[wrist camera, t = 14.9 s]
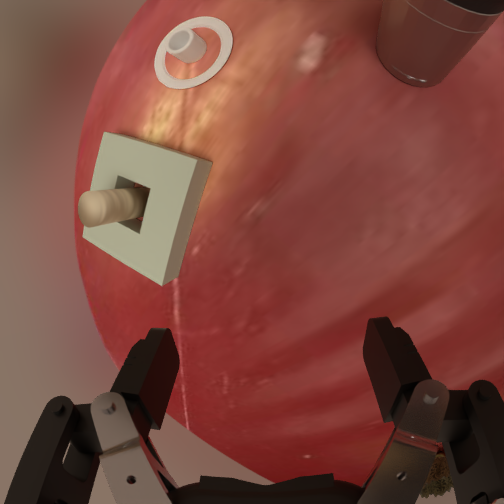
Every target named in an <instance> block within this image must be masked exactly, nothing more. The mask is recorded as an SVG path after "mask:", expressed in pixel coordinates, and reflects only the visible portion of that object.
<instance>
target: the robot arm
mask: <svg viewBox="0 0 504 504" xmlns="http://www.w3.org/2000/svg"><path fill="white" fill-rule="evenodd" d="M503 11H504V0H383V4H382V11H381V17H380V23H379V28H378V34H377V40H376V49H377V54H378V56H379V58H380V61H381V62H382V64H383V65H384V66H385V68H386V69H387V70H388V71H389V72H390V73H391V74H392V75H394V76H395V77H396V78H398V79H399V80H401V81H403V82H405V83H407V84H410V85H413V86H418V87H430V86H434V85H436V84H438V83H440V82H441V81H442V80H443V79H444V78H445V77H446V76H447V75H448V73H449V72H450V71H451V70H452V69H453V68H454V67H455V66H456V65H457V64H458V63H459V62H460V60H461V59H462V58H463V57H464V56H465V55H466V54H467V53H468V51H469V50H470V49H471V48H472V47H473V46H474V45H475V44H476V42H477V41H478V40H479V39H480V38H481V37H482V36H483V34H484V33H485V32H486V31H487V30H488V29H489V27H490V26H491V25H492V24H493V23H494V21H495V20H496V19H497V18H498V17H499V16H500V14H501V13H502V12H503ZM127 357H128V358H126V360H125V362H124V365H123V366H122V368H121V370H120V372H119V374H118V376H117V378H116V380H115V382H114V384H113V386H112V388H111V390H110V392H106V393H103V394H100V395H99V396H97V397H96V398H95V399H94V401H93V402H92V403H91V404H80V405H74V404H73V402H72V401H71V400H70V399H69V398H68V397H66V396H57V397H55V398H53V399H51V400H50V401H49V402H48V403H47V405H46V407H45V409H44V410H43V412H42V414H41V416H40V418H39V420H38V423H37V425H36V427H35V429H34V431H33V433H32V435H31V437H30V440H29V442H28V444H27V446H26V449H25V451H24V453H23V455H22V458H21V460H20V462H19V465H18V467H17V470H16V472H15V475H14V478H13V480H12V483H11V485H10V488H9V491H8V494H7V497H6V500H5V503H4V504H88V503H89V499H90V495H91V492H92V488H93V484H94V481H95V477H96V474H97V470H98V467H99V464H100V462H101V465H102V468H103V470H104V473H105V476H106V479H107V481H108V484H109V486H110V489H111V491H112V493H113V496H114V498H115V501H116V503H117V504H415V502H416V500H417V498H418V496H419V494H420V492H421V490H422V488H423V486H424V483H425V481H426V479H427V476H428V474H429V472H430V469H431V467H432V464H433V462H434V459H435V456H436V454H437V450H438V446H437V445H436V442H442V445H443V448H444V451H445V455H446V459H447V462H448V466H449V470H450V474H451V478H452V482H453V486H454V491H455V495H456V500H457V504H504V402H503V400H502V398H501V396H500V394H499V392H498V390H497V388H496V387H495V386H494V385H493V384H492V383H491V382H489V381H486V380H478V381H475V382H474V383H472V384H471V386H470V388H469V389H468V390H448V389H447V387H446V386H445V385H444V384H443V383H441V382H439V381H437V380H433V379H432V378H431V376H430V374H429V372H428V370H427V368H426V366H425V364H424V362H423V360H422V358H421V356H420V355H419V353H418V352H417V349H416V347H415V345H413V342H412V340H411V338H410V336H409V334H407V333H406V332H405V331H404V330H403V329H401V328H400V327H396V328H394V327H393V325H392V323H391V321H390V319H389V318H388V317H378V318H370V319H369V320H368V324H367V330H366V335H365V340H364V345H363V358H364V362H365V365H366V368H367V371H368V374H369V377H370V380H371V383H372V386H373V389H374V392H375V395H376V398H377V402H378V405H379V408H380V411H381V415H382V418H383V421H384V423H386V422H390V421H393V422H394V425H395V428H394V429H393V431H392V433H391V435H390V437H389V439H388V441H387V443H386V445H385V447H384V449H383V451H382V453H381V455H380V456H379V458H378V460H377V462H376V464H375V465H374V467H373V469H372V470H371V472H370V473H369V475H368V476H367V478H366V480H365V481H364V483H363V484H362V486H361V487H360V486H358V485H355V484H353V483H349V482H346V481H340V480H334V477H333V473H330V474H322V475H314V476H303V477H298V478H294V479H291V480H287V481H283V482H280V483H276V484H272V485H260V484H255V483H251V482H246V481H243V480H238V479H235V478H225V477H211V476H200V482H198V483H193V484H188V485H185V486H182V487H180V488H179V487H178V485H177V484H176V482H175V481H174V479H173V478H172V477H171V475H170V474H169V472H168V471H167V469H166V467H165V466H164V464H163V462H162V460H161V458H160V456H159V455H158V453H157V451H156V449H155V447H154V445H153V443H152V441H151V439H150V437H149V436H148V435H149V431H150V429H157V430H160V429H161V425H162V422H163V419H164V415H165V412H166V409H167V405H168V402H169V399H170V396H171V392H172V389H173V386H174V383H175V379H176V376H177V373H178V370H179V364H180V360H179V354H178V351H177V348H176V345H175V342H174V339H173V336H172V333H171V330H170V329H169V328H151V329H150V330H149V332H148V334H147V336H146V338H145V340H143V339H140V340H139V341H138V342H137V343H136V344H135V345H134V346H133V347H132V348H131V350H130V352H129V354H128V356H127ZM69 443H70V447H69V449H68V452H67V455H66V458H65V460H64V463H63V462H62V461H63V457H64V455H65V452H66V449H67V447H68V444H69Z"/></svg>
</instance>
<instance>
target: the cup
mask: <svg viewBox="0 0 504 504" xmlns="http://www.w3.org/2000/svg"><path fill="white" fill-rule="evenodd" d="M451 487H453V488H454V486H453V482H452V478H451V474H450V470H449V466H448V462H447V459H446V455H445V453H444V452H437V454H436V456H435V459H434V462H433V464H432V467H431V469H430V472H429V474H428V476H427V479H426V481H425V483H424V486H423V488H422V490H421V492H420V495H421V497H422V498H423V497H425V498H428V497H429V494H431V495H432V494H434V496H435V497H436V496H437V495H440V496H442V495H444V493H445V492H446V491H448V492H450V490H451Z"/></svg>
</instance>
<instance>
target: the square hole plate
mask: <svg viewBox="0 0 504 504" xmlns="http://www.w3.org/2000/svg"><path fill="white" fill-rule="evenodd" d="M212 163H213V162H211V161H208V160H205V159H202V158H199V157H196V156H193V155H190V154H187V153H184V152H181V151H178V150H174V149H171V148H168V147H165V146H162V145H158V144H155V143H152V142H148V141H145V140H141V139H138V138H135V137H131V136H127V135H124V134H118V133H111V132H104V134H103V138H102V141H101V145H100V149H99V153H98V157H97V161H96V165H95V169H94V174H93V179H92V183H91V188H90V191H97V190H109V189H123V188H134V184H135V182H136V183H139V184H141V185H143V186H146V187H148V188H151V190H150V193H149V197H148V201H147V205H146V209H145V213H144V217H143V222H142V221H140V220H138V219H136V218H134V219H129V220H124V221H119V222H114V223H110V224H105V225H100V226H96V227H91V228H88V227H86V226H85V225H84V231H83V238H85V239H86V240H88V241H90V242H91V243H93V244H94V245H96V246H97V247H99V248H100V249H102V250H103V251H105V252H107V253H108V254H110V255H111V256H113V257H115V258H116V259H118V260H119V261H121V262H123V263H124V264H126V265H127V266H129V267H131V268H132V269H134V270H136V271H137V272H139V273H141V274H142V275H144V276H146V277H148V278H149V279H151V280H153V281H154V282H156V283H158V284H160V285H161V286H162V285H164V284H166V283H168V282H170V281H171V280H173V279H175V278H177V277H178V275H179V272H180V268H181V264H182V261H183V257H184V254H185V250H186V246H187V243H188V240H189V236H190V233H191V229H192V226H193V223H194V219H195V216H196V213H197V210H198V206H199V203H200V200H201V197H202V194H203V191H204V187H205V184H206V181H207V178H208V175H209V172H210V169H211V166H212Z"/></svg>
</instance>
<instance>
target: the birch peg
mask: <svg viewBox="0 0 504 504" xmlns="http://www.w3.org/2000/svg"><path fill="white" fill-rule="evenodd" d="M150 190H151V188H148V187H138V188H123V189H109V190H97V191H87V192H84V193H83V194H82V196H81V197H80V199H79V203H78V214H79V217H80V220H81V222H82V223H83V224H84V225H85V226H86V227H88V228H91V227H96V226H100V225H105V224H110V223H114V222H119V221H124V220H129V219H134V218H139V217H144V213H145V209H146V205H147V201H148V197H149V193H150Z"/></svg>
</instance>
